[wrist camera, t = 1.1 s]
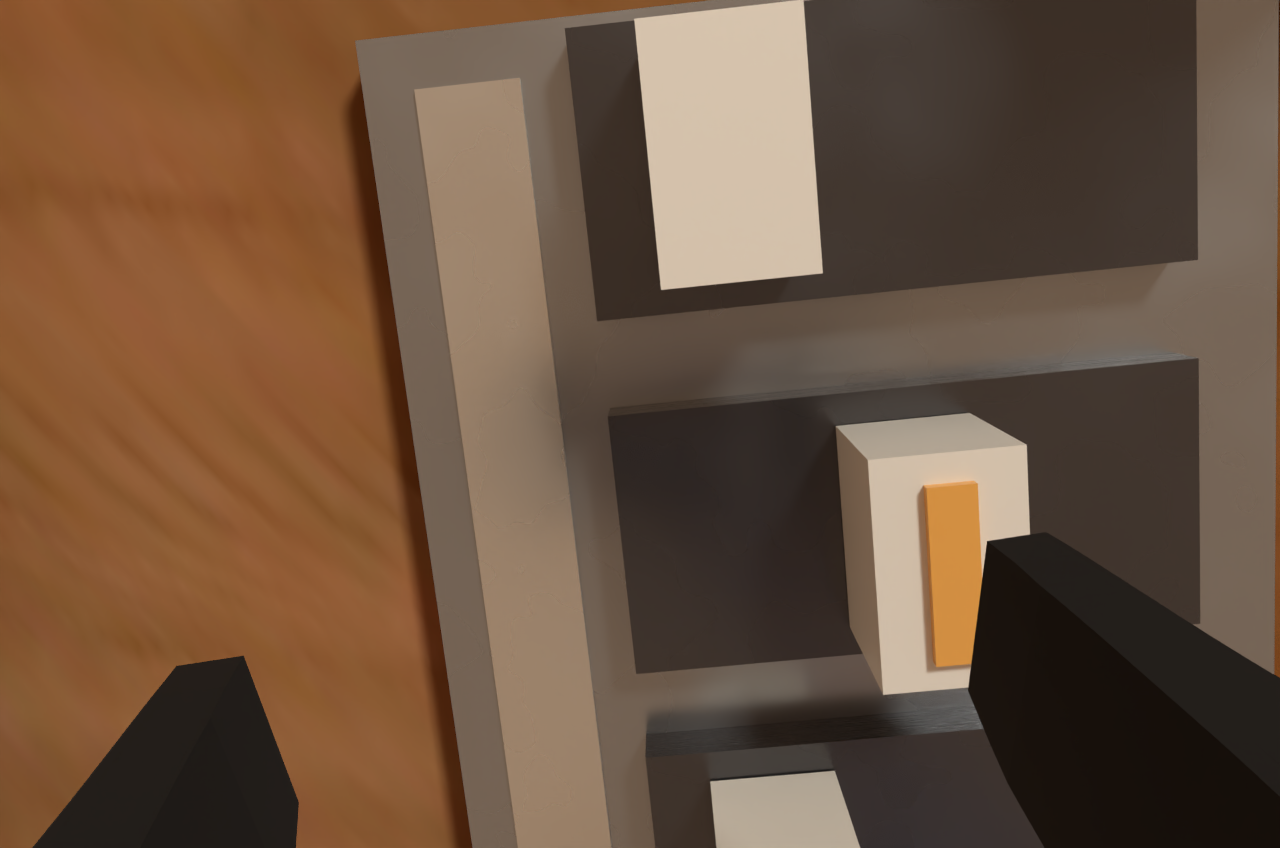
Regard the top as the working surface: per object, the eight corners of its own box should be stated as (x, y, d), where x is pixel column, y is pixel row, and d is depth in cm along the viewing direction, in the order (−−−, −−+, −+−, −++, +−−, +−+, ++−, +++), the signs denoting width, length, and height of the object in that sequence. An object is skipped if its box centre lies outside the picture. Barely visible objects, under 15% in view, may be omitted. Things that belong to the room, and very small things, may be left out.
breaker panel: (1240, 887, 23) (1301, 954, 21) (500, 946, 24) (484, 1017, 22) (1242, -47, 20) (1313, -82, 17) (372, 52, 20) (338, 29, 18)
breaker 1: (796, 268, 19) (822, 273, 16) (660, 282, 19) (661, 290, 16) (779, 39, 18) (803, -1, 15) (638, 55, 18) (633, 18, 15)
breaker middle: (978, 615, 20) (1040, 686, 17) (850, 626, 20) (885, 700, 17) (970, 412, 19) (1031, 447, 16) (835, 426, 19) (870, 462, 16)
